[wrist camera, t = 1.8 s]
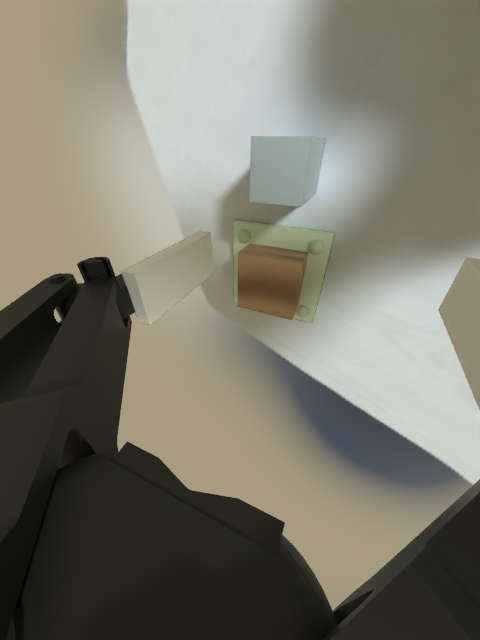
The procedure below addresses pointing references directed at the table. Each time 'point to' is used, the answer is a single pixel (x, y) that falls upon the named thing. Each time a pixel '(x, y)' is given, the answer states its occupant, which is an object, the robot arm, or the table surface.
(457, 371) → the table surface
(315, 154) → the column brick
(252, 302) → the base brick
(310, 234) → the plate
